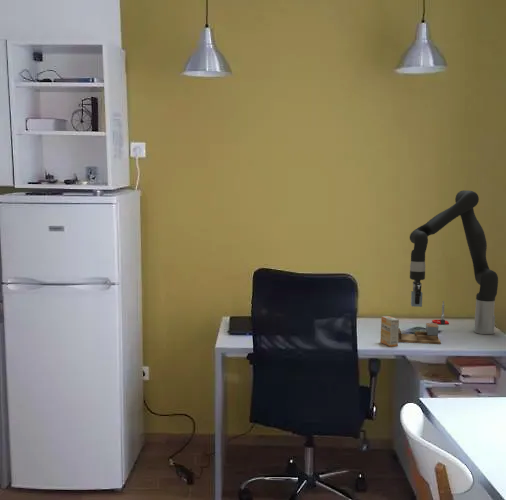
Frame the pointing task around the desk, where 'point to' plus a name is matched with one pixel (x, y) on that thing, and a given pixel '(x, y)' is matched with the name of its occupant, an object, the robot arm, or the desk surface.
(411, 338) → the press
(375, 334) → the desk surface
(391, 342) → the supplement box
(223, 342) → the desk surface
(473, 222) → the robot arm
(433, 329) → the grey cube
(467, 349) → the desk surface
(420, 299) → the block
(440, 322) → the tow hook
